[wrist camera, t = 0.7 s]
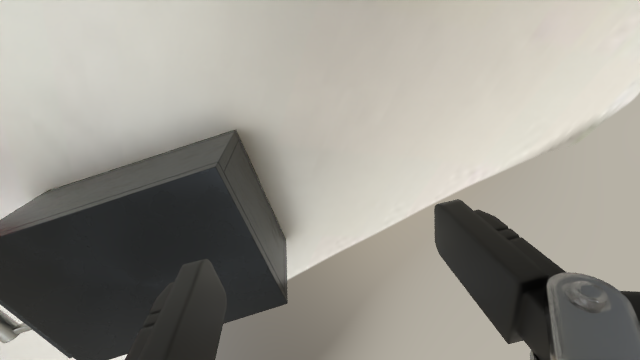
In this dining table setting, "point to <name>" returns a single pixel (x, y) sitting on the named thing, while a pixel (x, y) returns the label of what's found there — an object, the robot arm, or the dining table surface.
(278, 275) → the black drawer casing
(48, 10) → the dining table surface
